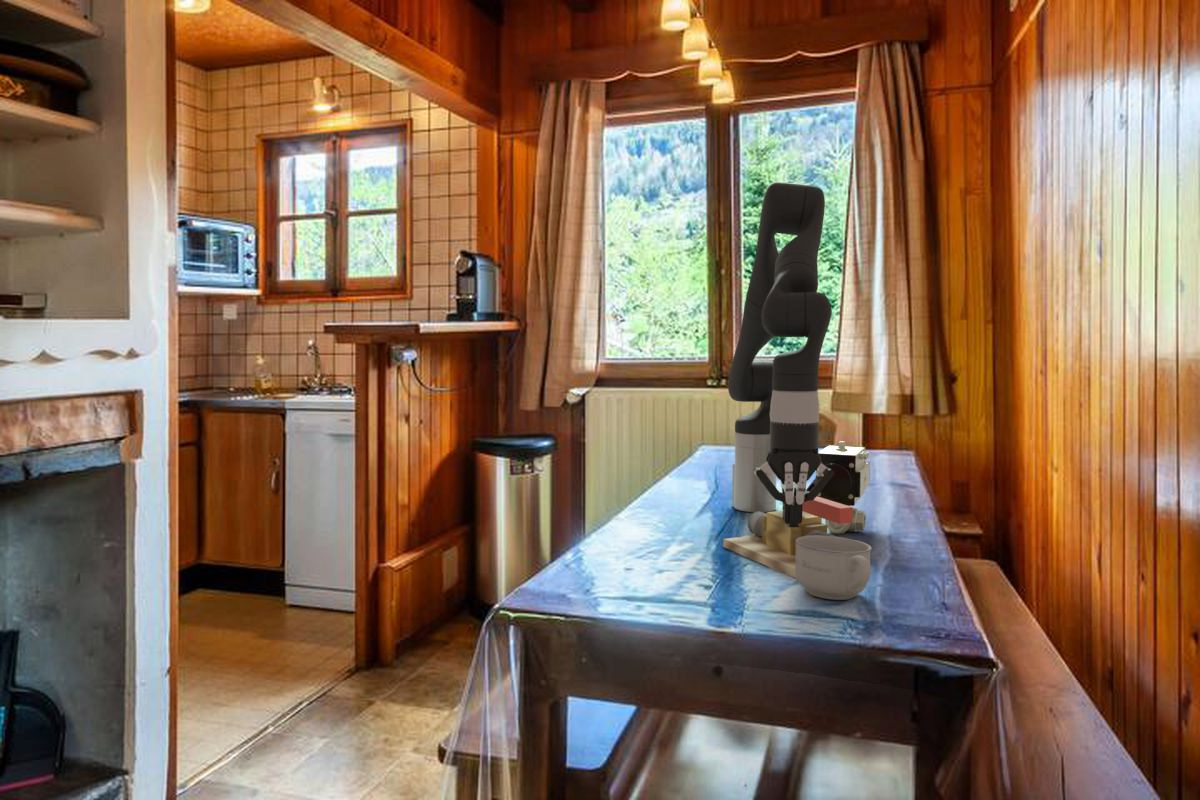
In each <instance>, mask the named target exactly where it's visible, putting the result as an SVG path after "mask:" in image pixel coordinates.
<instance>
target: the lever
mask: <svg viewBox="0 0 1200 800" xmlns="http://www.w3.org/2000/svg"><path fill="white" fill-rule="evenodd" d="M853 508H854V506H847V505H844V504H840V503H837V502H834V501H831V500H827V499H824V498H821V497H818V496H816V498H815V499H814V500H812V501H810V500H809V501H806V502H804V503H803V509H802V511H803V512H806V513H809V514H812V515H815V516H817V517H820V518H822V519H823V520H825V519H826V520H829V521H832V522H835V523H838V524H847V523H852V517H853Z"/></svg>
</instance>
